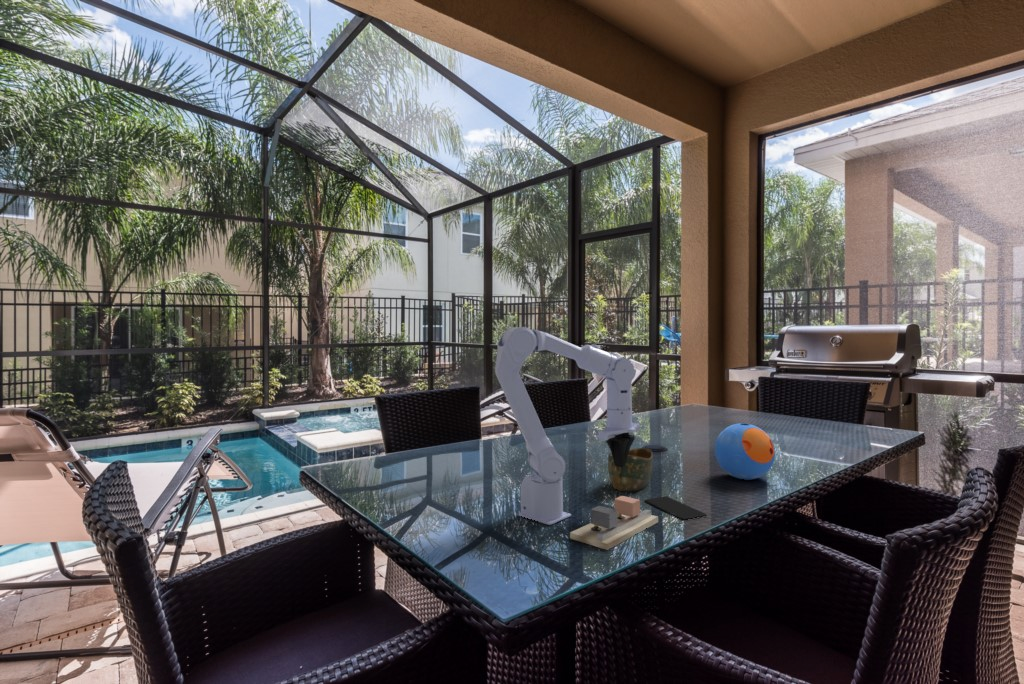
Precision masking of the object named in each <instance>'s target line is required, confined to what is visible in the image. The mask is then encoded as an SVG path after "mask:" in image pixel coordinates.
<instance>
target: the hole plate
mask: <svg viewBox="0 0 1024 684" xmlns="http://www.w3.org/2000/svg"><path fill="white" fill-rule="evenodd" d="M628 518H630V516H626V515H622V517H618V523H620V522H622V521H624V520H626V519H628ZM658 523H659V516H657V515H652V514H651V516H650V517H648V518H646V519H644V520H642V521H640V522H639V523H637V524H635V525H633V526H631V527H629V528H627V529H625V530H623V531H621V532H620V533H618V534H616V535H614V536H612V537H610V538H608V539H606V540H604V541H600V540H598V538H597V534H598V533H600V532H602V531H604V530H606V529H608V528H604V527H601V526H599V528H598V529H595V528H594V524H591V522H590V523H588V524H586V525H583V526H581V527H579V528H577V529H574V530H572V531H569V539H570V540H574V541H577V542H579V543H580V542H581V543H583V544H584V543H585V544H587V545H590V546H592V547H593V546H594V547H597V548H599V549H603V550H606V551H608V550H610V549H612V548H614V547H616V546H617V545H620V544H621V543H622V542H625V541H626V540H628V539H630V538H632V537H633V536H634V537H635V536H636V535H637V533H638V534H639V533H641V532H643V531H644V530H647V529H649V528H650V527H652V526H654V525H656V524H658ZM646 528H647V529H646ZM635 534H636V535H635Z"/></svg>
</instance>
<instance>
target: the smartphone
mask: <svg viewBox="0 0 1024 684" xmlns="http://www.w3.org/2000/svg"><path fill="white" fill-rule="evenodd" d="M645 502H646V503H645ZM644 503H645V504H647V503H648V505H650V506H652V507H653V508H655V509H658V510H659V511H662V512H664V513H666V514H668V513H669V514H668V515H670V514H671V515H670V516H672V515H673V516H672V517H674V516H675V517H674V518H676V517H677V518H676V519H678V518H679V519H678V520H680V519H681V520H680V521H682V520H687V521H689V520H688V519H693V518H697V517H702V516H708V515H707V513H706V512H705V513H704V512H702V511H700V510H698V509H696V508H693V507H691V506H689V505H687V504H685V503H682V502H680V501H678V500H676V499H674V498H672V497H670V496H667V495H666V496H660V497H652V498H647V499H645V500H644ZM693 520H694V519H693Z"/></svg>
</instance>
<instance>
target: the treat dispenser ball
mask: <svg viewBox="0 0 1024 684" xmlns="http://www.w3.org/2000/svg"><path fill="white" fill-rule="evenodd" d="M714 454H715V458H716V461H717V462H718V464H719V466H720V468H721V469H722V470H723V472H725V473H726V474H728V475H729V476H730V477H731V476H732V477H733V478H736V479H740V480H742V479H744V480H745V481H751V480H756V479H758V478H761V477H763V476H765V474H767V473H768V472H769V471H770V469H771V468H772V467H773V465H774V462H775V458H776V450H775V445H774V443H773V441H772V439H771V437H770V436H769V434H767V433H766V431H765V430H763V429H761V428H760V427H759V426H756V425H754V424H750V423H745V422H744V423H743V422H741V423H735V424H731V425H729V426H727V427H726V428H724V429H723V430H722V431H721V432H720V433H719V435H718V436H717V438H716V440H715V444H714ZM744 480H743V481H744Z"/></svg>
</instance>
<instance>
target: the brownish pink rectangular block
mask: <svg viewBox="0 0 1024 684" xmlns="http://www.w3.org/2000/svg"><path fill="white" fill-rule="evenodd" d="M613 500H614V510H618V517H622V515H626V516H630V517H634V516H636V515H638V514H640V512H641V500H640V499H638V498H634V497H633V498H632V497H630V496H625V495H620V496H618V497H616V498H614V499H613Z"/></svg>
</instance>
